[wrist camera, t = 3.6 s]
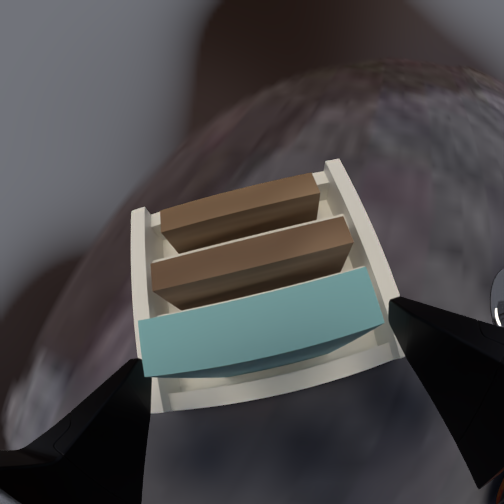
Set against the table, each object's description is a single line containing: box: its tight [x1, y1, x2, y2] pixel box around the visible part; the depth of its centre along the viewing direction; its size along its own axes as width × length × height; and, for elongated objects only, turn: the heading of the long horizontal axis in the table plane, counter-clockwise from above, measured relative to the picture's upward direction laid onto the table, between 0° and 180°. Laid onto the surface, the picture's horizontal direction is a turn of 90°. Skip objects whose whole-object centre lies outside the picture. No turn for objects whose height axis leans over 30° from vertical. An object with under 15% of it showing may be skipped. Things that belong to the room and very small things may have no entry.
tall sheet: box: [138, 267, 385, 378], centre depth 11 cm, size 2×6×10 cm, turn 102°
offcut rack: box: [131, 159, 405, 413], centre depth 16 cm, size 12×14×4 cm
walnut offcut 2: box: [151, 216, 354, 311], centre depth 15 cm, size 2×10×4 cm, turn 102°
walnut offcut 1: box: [160, 173, 320, 254], centre depth 17 cm, size 2×9×4 cm, turn 102°
